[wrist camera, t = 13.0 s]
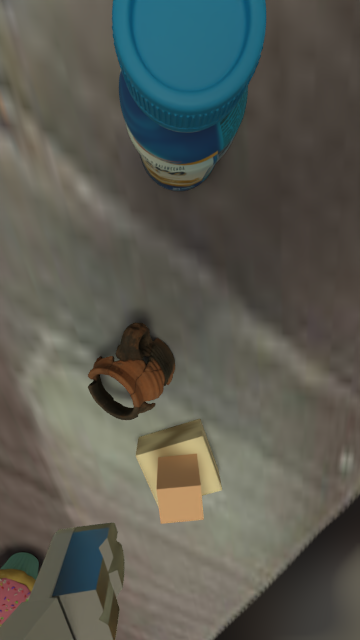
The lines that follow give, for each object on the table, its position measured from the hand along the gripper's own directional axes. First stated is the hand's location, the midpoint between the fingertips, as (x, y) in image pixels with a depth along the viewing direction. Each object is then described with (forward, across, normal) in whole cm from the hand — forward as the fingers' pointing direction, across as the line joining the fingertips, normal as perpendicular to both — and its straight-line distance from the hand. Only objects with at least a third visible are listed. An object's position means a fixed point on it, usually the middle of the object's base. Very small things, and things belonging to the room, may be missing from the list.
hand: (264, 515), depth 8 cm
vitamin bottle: (+29, -1, -16) cm, 33 cm away
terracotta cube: (+26, +5, +22) cm, 34 cm away
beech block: (+30, +5, +22) cm, 37 cm away
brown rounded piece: (+30, +8, +7) cm, 31 cm away
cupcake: (+29, +33, +38) cm, 58 cm away
